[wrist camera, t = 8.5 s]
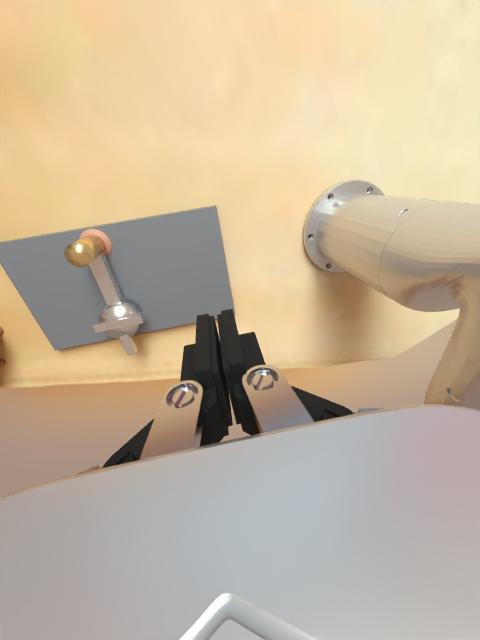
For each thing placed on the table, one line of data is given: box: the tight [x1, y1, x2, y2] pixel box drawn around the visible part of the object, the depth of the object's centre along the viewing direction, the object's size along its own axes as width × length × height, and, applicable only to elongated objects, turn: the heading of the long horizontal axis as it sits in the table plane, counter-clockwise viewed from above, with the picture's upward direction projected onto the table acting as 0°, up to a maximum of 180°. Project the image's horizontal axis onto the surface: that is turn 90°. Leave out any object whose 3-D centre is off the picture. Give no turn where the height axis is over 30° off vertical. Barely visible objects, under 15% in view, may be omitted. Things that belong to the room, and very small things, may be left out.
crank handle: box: [64, 234, 144, 355], centre depth 34 cm, size 16×6×5 cm, turn 9°
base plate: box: [0, 206, 235, 350], centre depth 36 cm, size 28×16×1 cm, turn 99°
